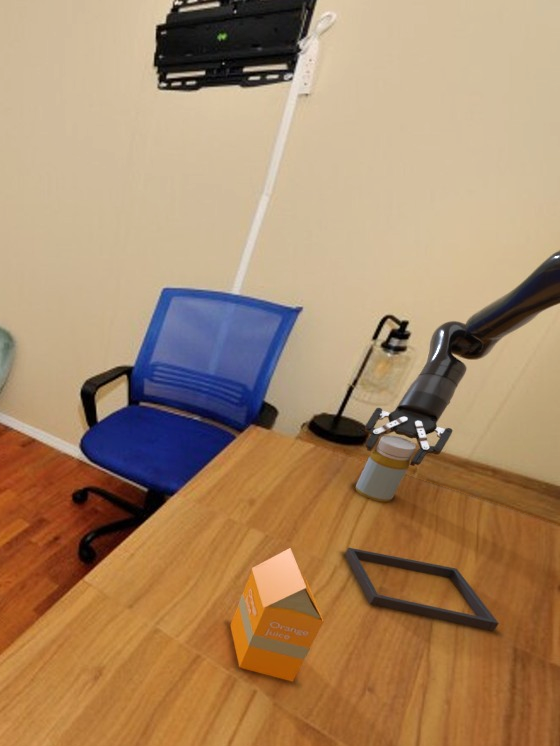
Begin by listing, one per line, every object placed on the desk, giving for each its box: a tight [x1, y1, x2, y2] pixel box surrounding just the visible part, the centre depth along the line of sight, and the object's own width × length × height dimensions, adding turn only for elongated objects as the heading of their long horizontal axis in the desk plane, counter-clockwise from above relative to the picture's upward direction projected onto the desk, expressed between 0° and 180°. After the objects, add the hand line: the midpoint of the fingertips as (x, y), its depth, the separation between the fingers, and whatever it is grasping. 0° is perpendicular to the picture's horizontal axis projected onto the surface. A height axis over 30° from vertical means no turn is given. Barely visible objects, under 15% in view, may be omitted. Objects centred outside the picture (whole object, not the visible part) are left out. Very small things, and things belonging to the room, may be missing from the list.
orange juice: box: [230, 547, 325, 682], centre depth 81 cm, size 8×9×20 cm
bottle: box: [355, 435, 417, 503], centre depth 120 cm, size 7×7×15 cm
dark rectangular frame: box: [344, 547, 499, 632], centre depth 96 cm, size 18×14×3 cm
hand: (390, 456), depth 117 cm, fingers open, 7 cm apart
